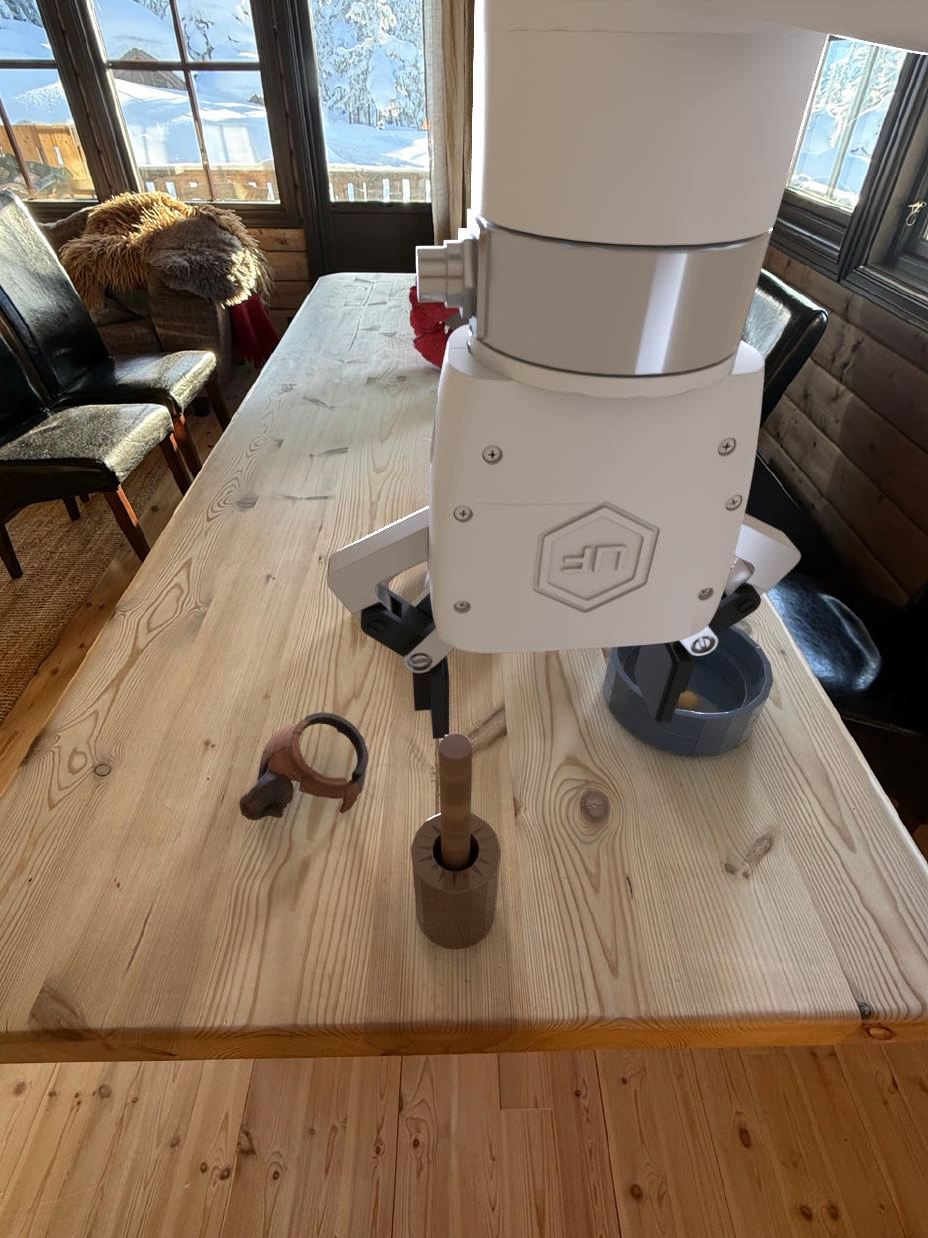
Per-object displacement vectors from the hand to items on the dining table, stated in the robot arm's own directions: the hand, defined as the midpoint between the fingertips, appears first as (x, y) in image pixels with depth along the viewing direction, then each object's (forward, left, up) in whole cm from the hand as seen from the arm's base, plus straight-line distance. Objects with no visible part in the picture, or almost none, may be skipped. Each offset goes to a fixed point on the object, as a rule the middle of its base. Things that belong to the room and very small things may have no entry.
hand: (545, 705), depth 29 cm
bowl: (+30, -12, -29) cm, 44 cm away
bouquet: (+114, +32, -29) cm, 122 cm away
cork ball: (+28, -12, -27) cm, 41 cm away
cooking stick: (+3, +5, -29) cm, 29 cm away
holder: (+3, +5, -29) cm, 30 cm away
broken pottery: (+10, +21, -29) cm, 38 cm away
